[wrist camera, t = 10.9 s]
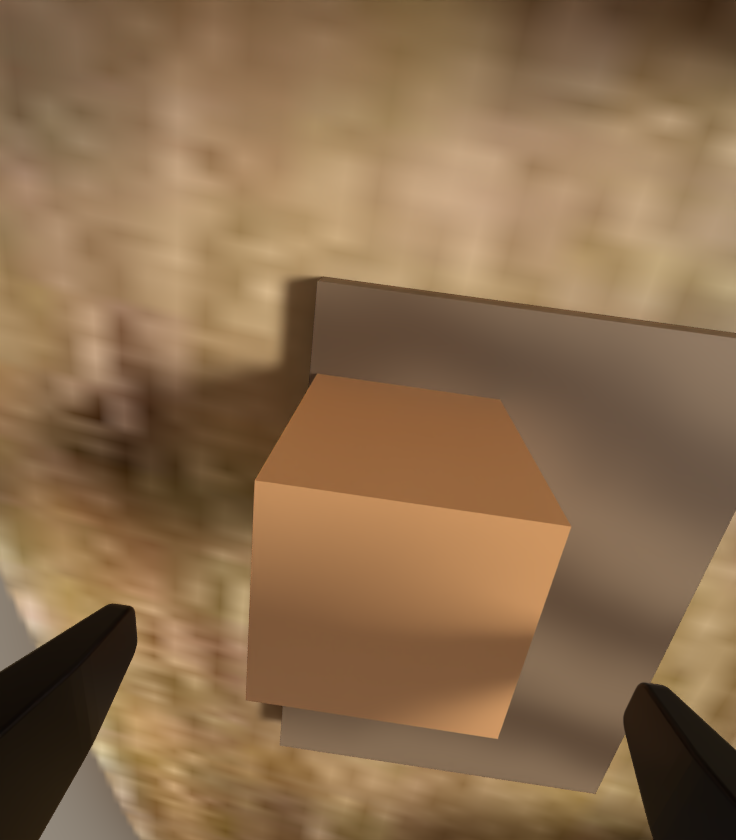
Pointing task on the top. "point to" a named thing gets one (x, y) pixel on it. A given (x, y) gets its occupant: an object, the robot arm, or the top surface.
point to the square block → (399, 558)
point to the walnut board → (575, 493)
